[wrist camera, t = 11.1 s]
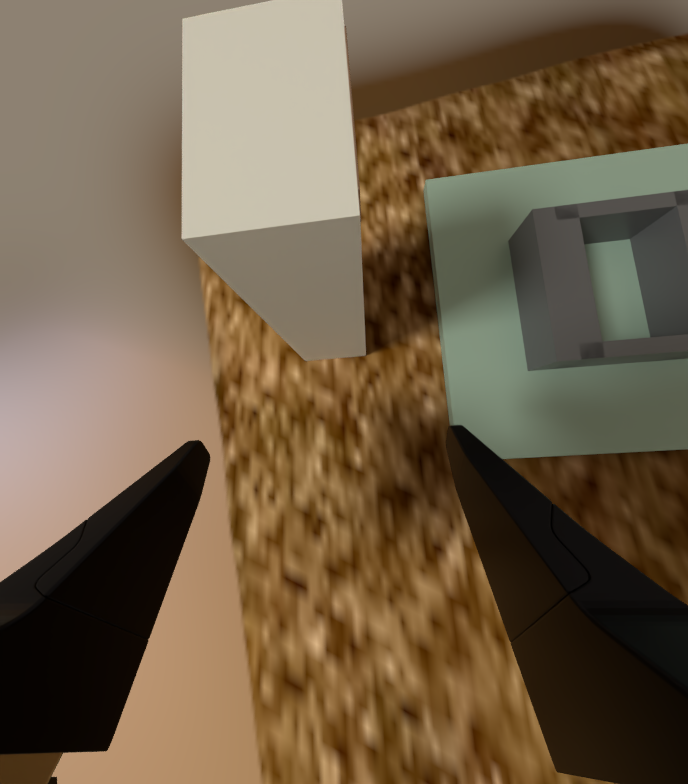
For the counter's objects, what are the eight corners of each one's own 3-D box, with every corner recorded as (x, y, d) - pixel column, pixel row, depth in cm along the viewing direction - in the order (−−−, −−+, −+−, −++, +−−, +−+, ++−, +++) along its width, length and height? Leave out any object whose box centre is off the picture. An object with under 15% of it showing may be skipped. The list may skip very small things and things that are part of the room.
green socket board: (791, 441, 15) (910, 446, 12) (453, 459, 16) (474, 468, 13) (715, 150, 17) (798, 86, 14) (423, 190, 19) (435, 140, 15)
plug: (366, 355, 18) (362, 215, 6) (304, 361, 18) (179, 239, 6) (359, 269, 18) (342, -15, 6) (300, 275, 19) (180, 19, 7)
